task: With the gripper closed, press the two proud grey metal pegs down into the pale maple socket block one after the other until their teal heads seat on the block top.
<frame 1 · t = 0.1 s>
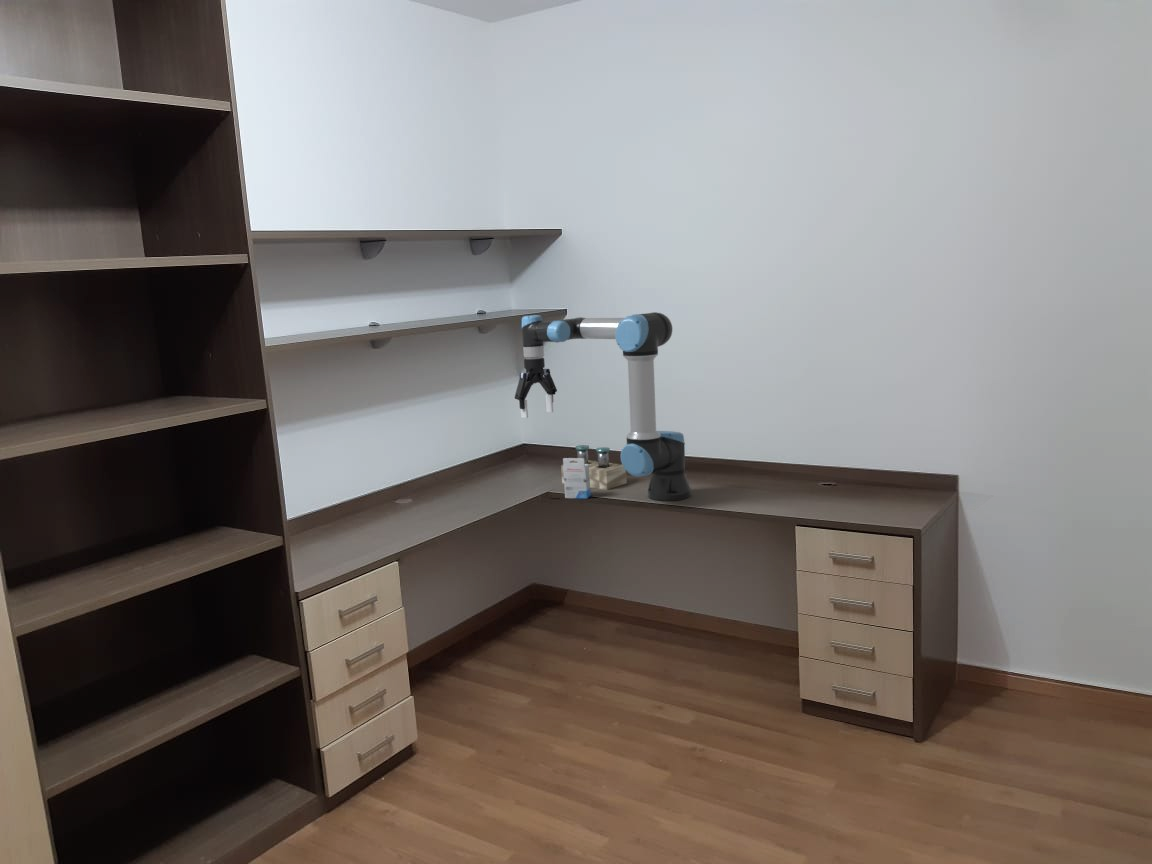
hand: (537, 414, 337), 28 cm above the table, fingers open, 13 cm apart
peg a: (582, 456, 347), point 10 cm above the table, slide at 0.0 cm
ink box: (578, 497, 326), on the table
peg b: (603, 458, 340), point 10 cm above the table, slide at 0.0 cm
socket block: (594, 483, 345), on the table
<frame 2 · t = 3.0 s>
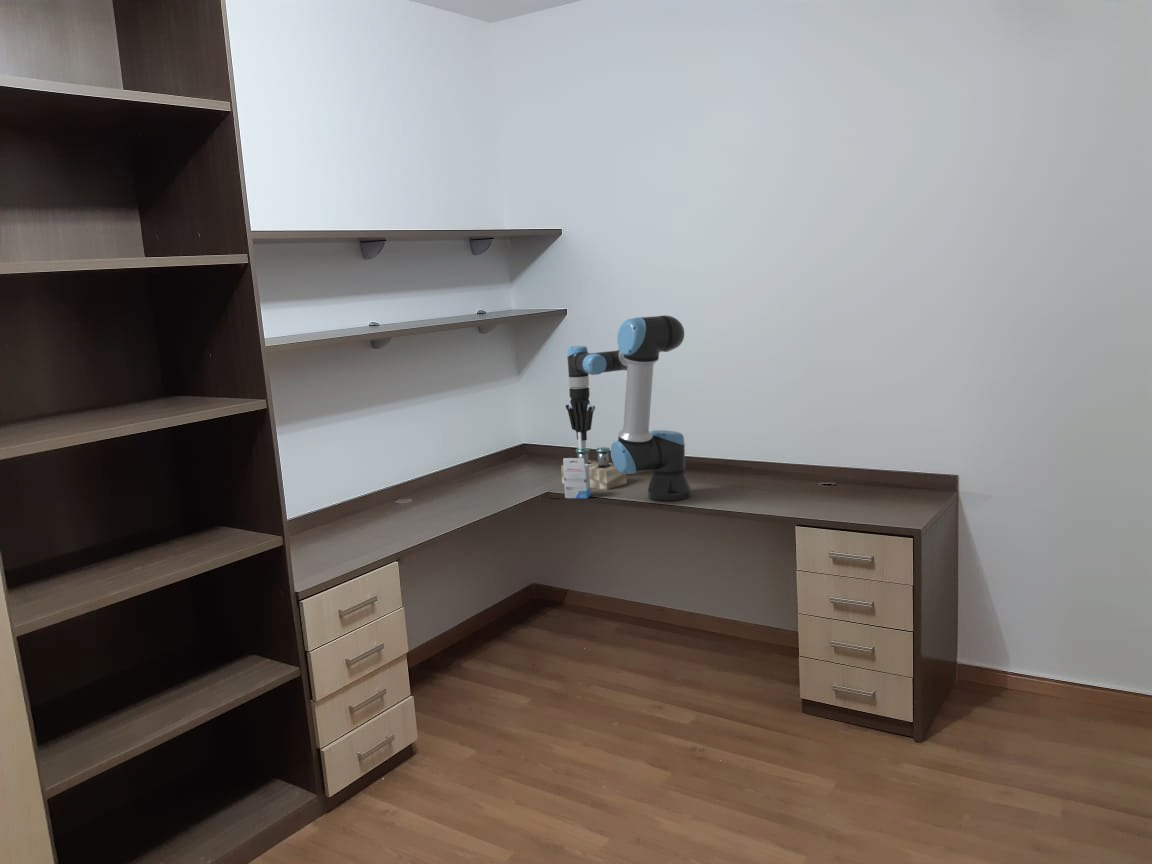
hand: (582, 448, 346), 13 cm above the table, fingers closed
peg a: (583, 459, 347), point 9 cm above the table, slide at -1.1 cm, touching gripper
everything else where it was.
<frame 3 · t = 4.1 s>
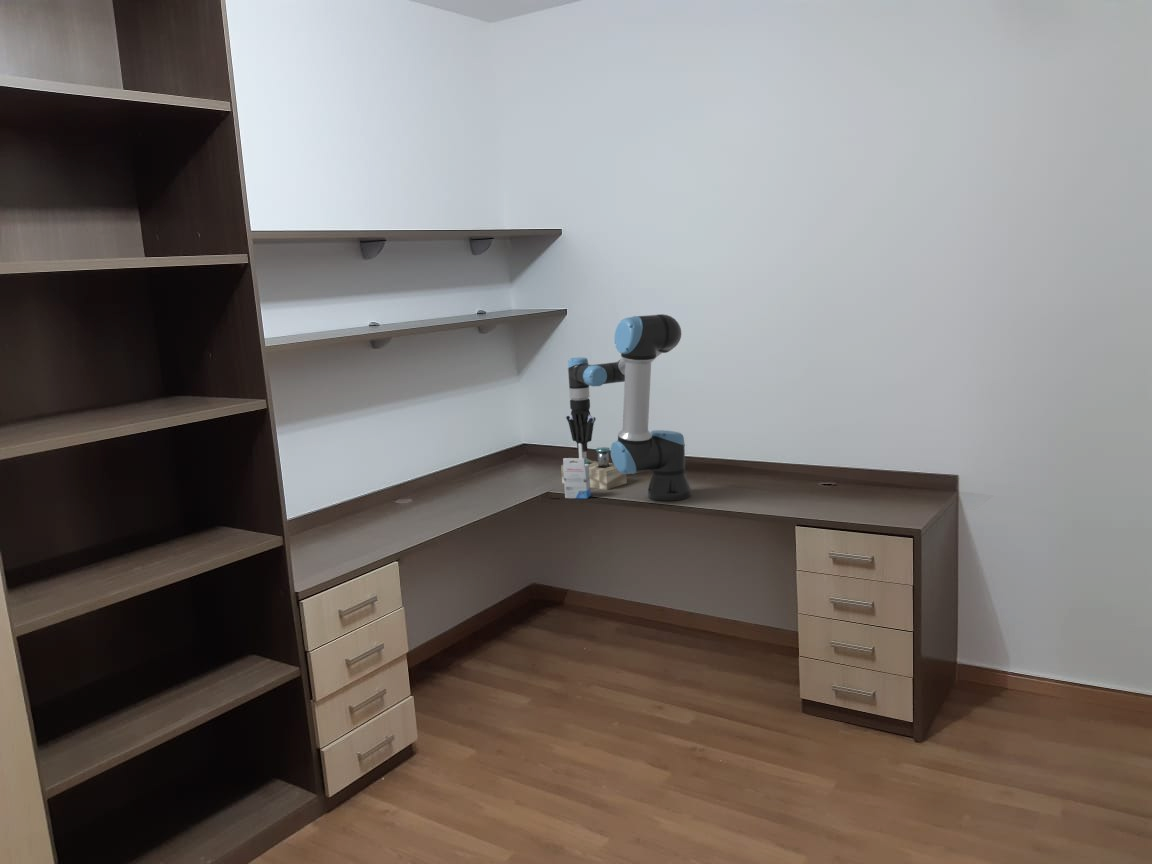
hand: (582, 459, 347), 9 cm above the table, fingers closed
peg a: (583, 470, 348), point 5 cm above the table, slide at -5.4 cm, touching gripper
everything else where it was.
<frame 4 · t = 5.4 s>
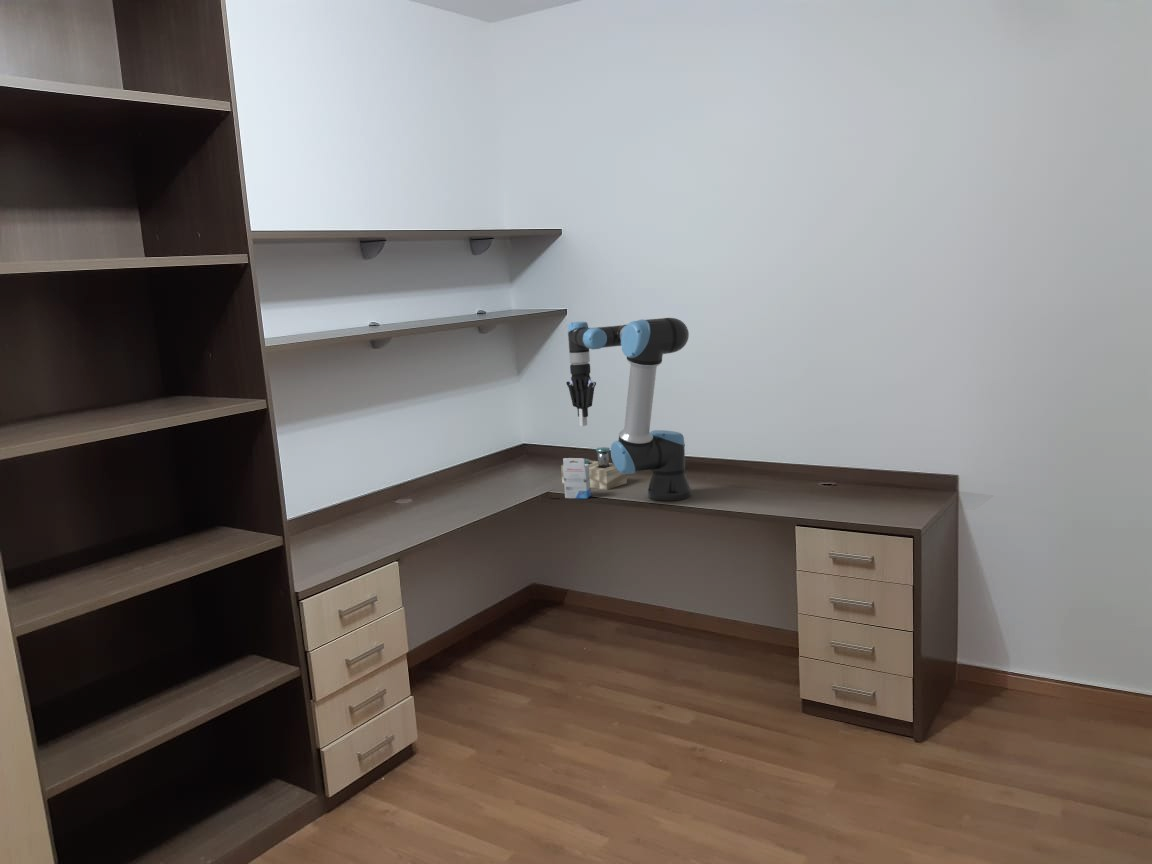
hand: (583, 425, 344), 22 cm above the table, fingers closed
peg a: (583, 470, 348), point 5 cm above the table, slide at -5.4 cm
everything else where it was.
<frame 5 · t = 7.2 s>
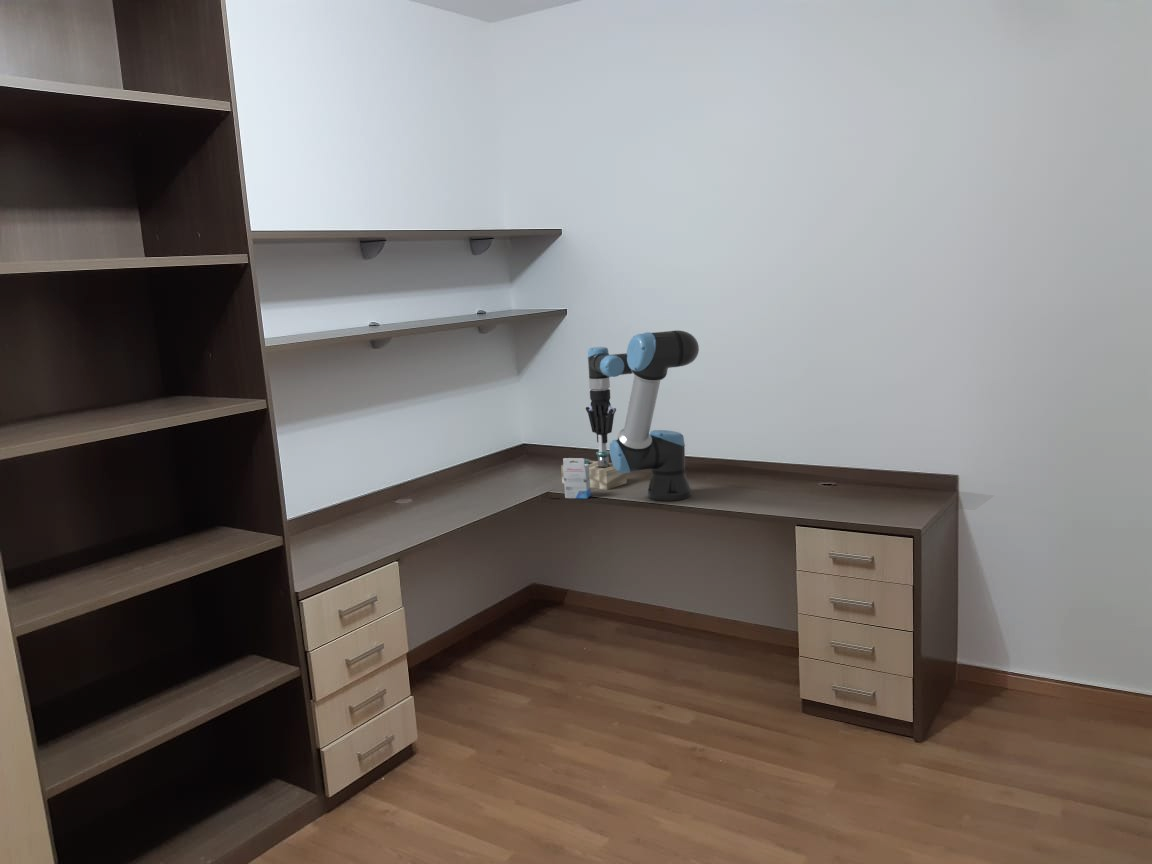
hand: (602, 451, 340), 13 cm above the table, fingers closed
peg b: (603, 462, 340), point 9 cm above the table, slide at -1.3 cm, touching gripper
everything else where it was.
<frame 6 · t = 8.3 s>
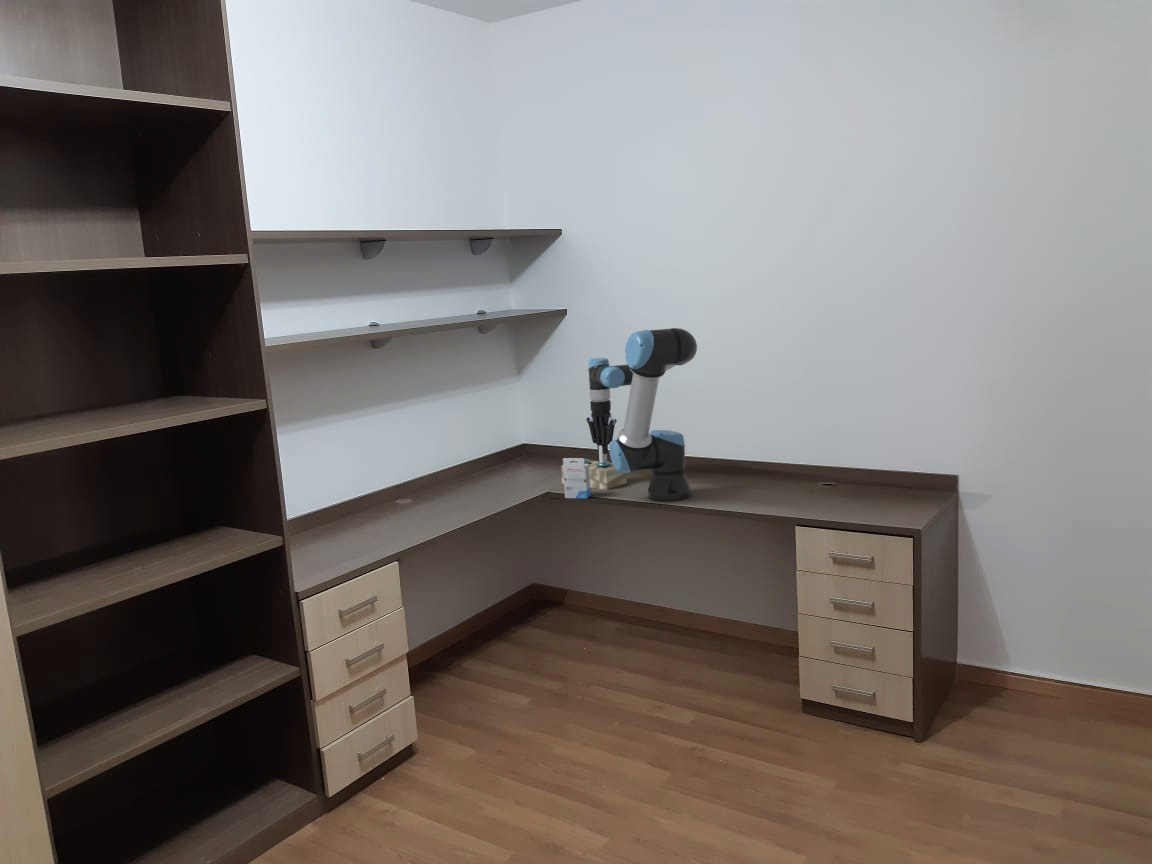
hand: (603, 462, 340), 9 cm above the table, fingers closed
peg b: (603, 472, 341), point 5 cm above the table, slide at -5.4 cm, touching gripper
everything else where it was.
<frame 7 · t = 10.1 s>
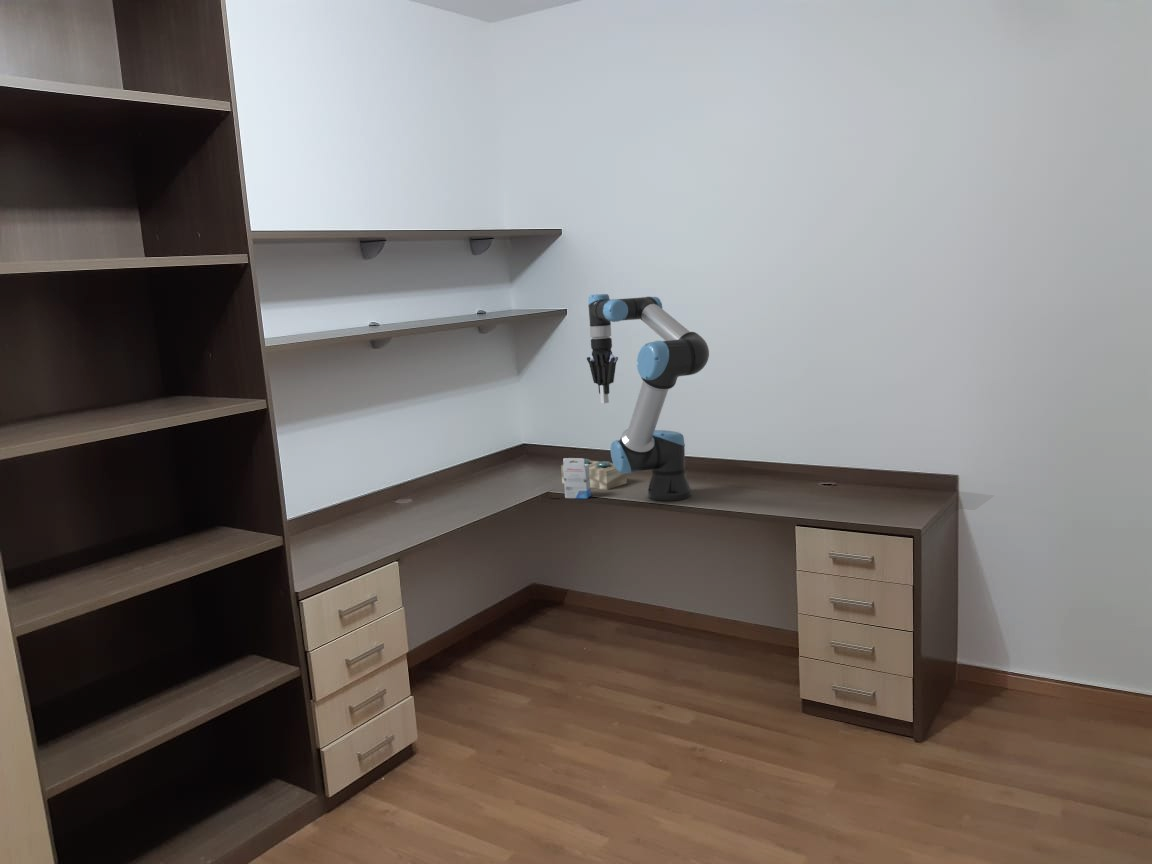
hand: (604, 402, 329), 32 cm above the table, fingers closed
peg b: (603, 472, 341), point 5 cm above the table, slide at -5.4 cm
everything else where it was.
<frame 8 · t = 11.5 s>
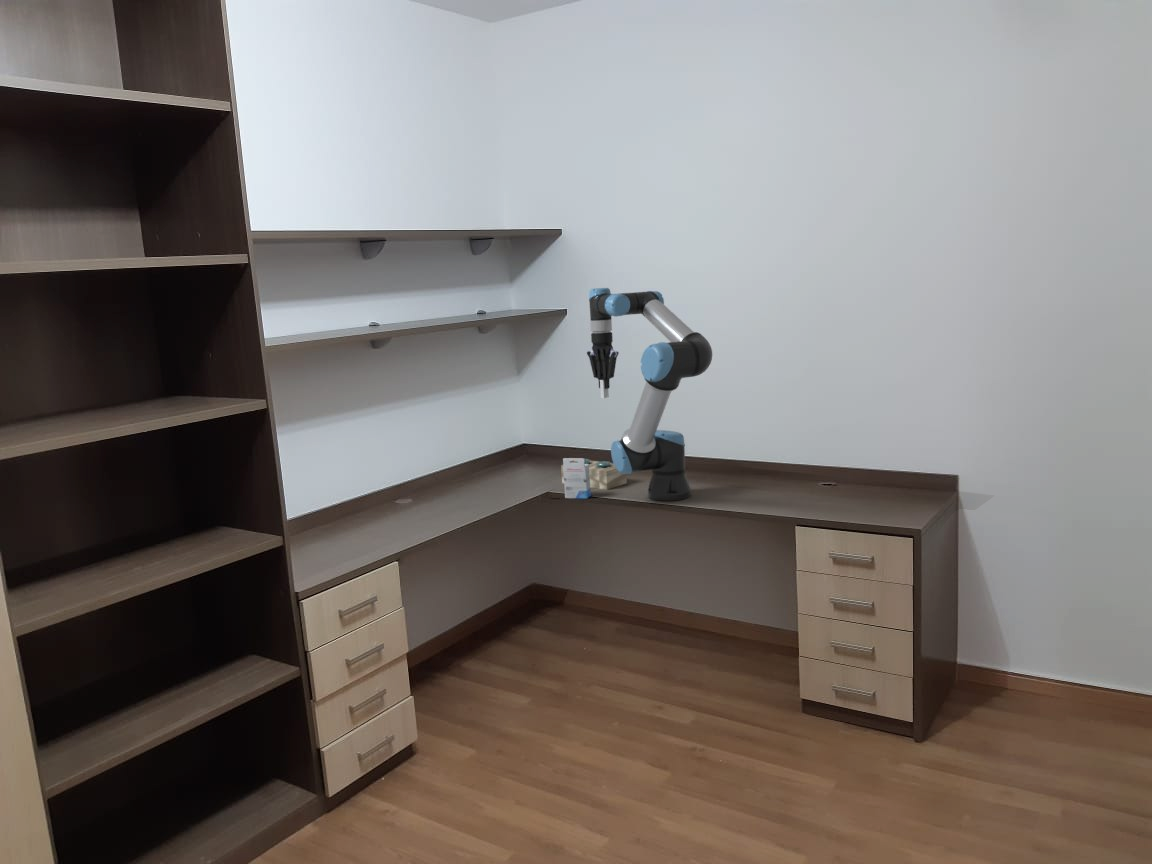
hand: (604, 397, 327), 34 cm above the table, fingers closed
nothing on the table moved.
at the end: peg a slide at -5.4 cm; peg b slide at -5.4 cm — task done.
